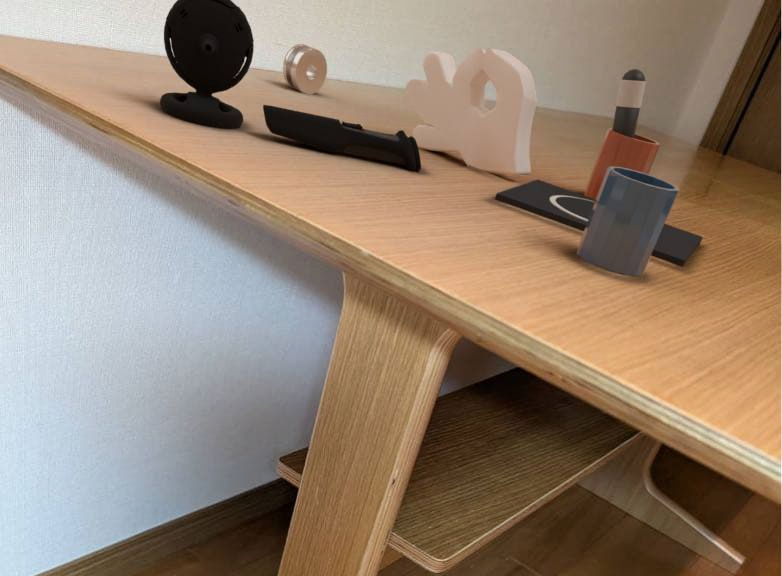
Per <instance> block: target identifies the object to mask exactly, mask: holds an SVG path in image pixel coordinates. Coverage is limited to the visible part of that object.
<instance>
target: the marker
mask: <svg viewBox="0 0 782 576" xmlns="http://www.w3.org/2000/svg"><path fill="white" fill-rule="evenodd" d="M646 84H647V82H646V76H645V74H644V73H643V72H642V71H641V70H640V69H636V68H633V69H630V70H628V71H627V72H625V73H624V74H623V76H622V78H621V79H620V82H619V88H618V93H617V98H616V104H615V106H616V107H615V112H614V118H613V121H612V127H611V128H612V130H613V131H615V132H617V133H619V134H622V135H625V136H628V137H631V138H634V136H635V134H636V130H637V126H638V121H639V115H640V111H641V108H642V104H643V98H644V93H645V89H646Z"/></svg>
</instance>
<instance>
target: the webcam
mask: <svg viewBox="0 0 782 576" xmlns="http://www.w3.org/2000/svg"><path fill="white" fill-rule="evenodd" d="M254 42H255V40H254V36H253V31H252V27H251V25H250V23H249V21H248V19H247V16H246V14H245V13H244V11H243V10H242V9H241V7H239V6H238V5H237V4H236V3H235V2H233V0H176V1H175V2H174V3H173V5H172V7H171V8H170V10H169V11H168V13H167V15H166V18H165V22H164V26H163V44H164V50H165V53H166V56H167V59H168V61H169V63H170V66H171V67H172V69H173V70H174V72H175V73H176V74H177V76H178V77H179V78H180V79H181V80H182V81H183V82H184V83H186V84H187V85H188V86H190V87H191V88H193V89H194V90H195V91H188V92H166V93H163V94H162V95H161V97H160V99H159V105H160V109H161V110H162V111H163V112H164V113H166V114H167V115H169V116H171V117H174V118H175V119H179V120H182V121H185V122H188V123H191V124H196V125H200V126H204V127H209V128H216V129H224V130H235V129H238V128H240V127H241V126H242V125H243V122H244V116H243V113H242V111H241V110H240V109H238V108H236V107H235V106H233V105H231V104H228V103H225V102H223V101H222V100H220V99H219V98H218V97H215V96H214V95H213V94H217V93H222V92H225V91H229V90H230V89H232V88H234V87H235V86H237V85H238V84H239V83H240V82H241V81H242V80H243V79H244V78H245V76H246V75H247V73H248V72H249V70H250V69H249V68H250V66H251V64H252V62H253V58H254V57H253V56H254V49H255V48H254V47H255V46H254V45H255V43H254Z"/></svg>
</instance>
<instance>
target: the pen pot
mask: <svg viewBox="0 0 782 576" xmlns="http://www.w3.org/2000/svg"><path fill="white" fill-rule="evenodd" d="M660 146H661V143H660V142H658V141H656V140H654V139H652V138H650V137H646V136H643V135H641V134H637V133H635V136H634V138H631V137H628V136H625V135H622V134H619V133H617V132H615V131H613V130H612V127H608V128H607V130H606V133H605V135H604V137H603V141H602V144H601V147H600V148H599V152H598V154H597V157H596V160H595V163H594V166H593V168H592V171H591V173H590V176H589V178H588V182H587V184H586V187H585V190H584V194H583V195H584V196H587V197H590V198H592V199H595V200H596V198H597V195H598V192H599V190H600V187H601V184H602V182H603V179H604V176H605V174H606V171H607V168H608V167H610V166H615V167H622V168H627V169H631V170H635V171H638V172H642V173H645V174H648V175H649V173H650V171H651V168H652V166H653V164H654V161H655V158H656V157H657V153H658V151H659V148H660Z"/></svg>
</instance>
